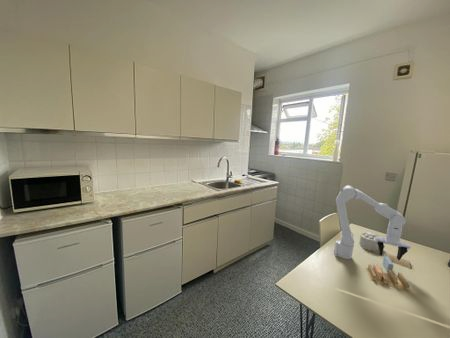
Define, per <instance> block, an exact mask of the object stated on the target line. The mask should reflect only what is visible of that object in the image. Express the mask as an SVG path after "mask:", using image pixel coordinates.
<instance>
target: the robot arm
mask: <svg viewBox="0 0 450 338" xmlns="http://www.w3.org/2000/svg"><path fill="white" fill-rule="evenodd" d="M352 199H355V200H362V201H363V202H365V203H367V204H369V205H370V206H372V207H374V211H375V212H377V213H378V214H380V215H381V216H383V217H384V218H386V219H388V220H389V221H388V224H387V229H386V235H385V238H383V237H381V238H376V237H375V241H376V242H377V244H378V247H379V249H378V252H379V256H381V257H383V254H384V253H383V251H384V249H385V247H386V246H385V245H384V244H386V245H391V246H393V247H397V254H396V257H397V259H398V260H400V259H401V258H402V257H403V256H404V255H405V254H407V253H408V252H409V251H408V250H411V245H410V244H409V243H404V242H401V236H402V232H403V226H404V225H405V224H406V222H407V221H406V218H405V217H404V216H403V215H402V213H401V212H399V211H398V210H397V209H393V208H391V207H390V206H389V204H388V203H383V202H377V201H376V200H375V199H373V198H372V197H370V196H369V195H367V194H365V193H364V192H363V191H361V190H359V189H358V188H354V186H352V185H349V184H348V185H345V186H344V187H342V188H341V189H340V191H339V193H338V195H337V196H336V198H335V204H336V209H337V213H338V218H339V224H340V230H341V235H340V236H341V239H340V240H335V242H334V249H333V253H334V256H336V257H340V258H342V259H345V260H352V257H353V253H354V252H353V251H354V247H355V245H354V244H355V240H354V233H353V232H352V231H351V227H350V222H349V218H348V210H347V207H346V203H347V202H348V201H349V200H352Z"/></svg>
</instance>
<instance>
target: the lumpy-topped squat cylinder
mask: <svg viewBox="0 0 450 338" xmlns="http://www.w3.org/2000/svg"><path fill="white" fill-rule="evenodd" d="M375 237H376V238H382V237H381V236H380V235H378V234H376V233H372V232H370V231H362V232H361V233H360V237H359V246H360V247H361V248H362V249H365V250H368V251H372V252H373V251H379V247H378V244H377V242H376V241H375Z"/></svg>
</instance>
